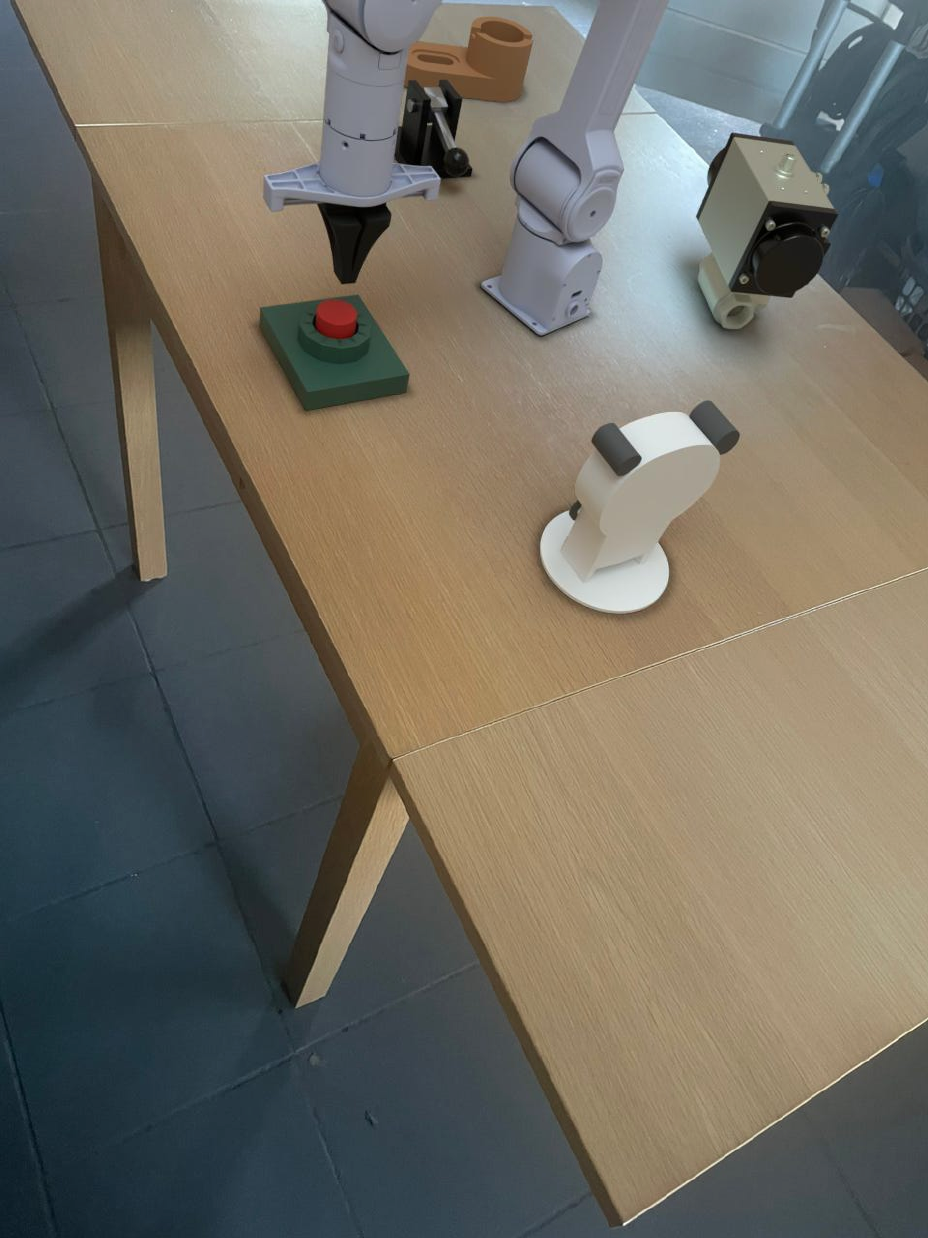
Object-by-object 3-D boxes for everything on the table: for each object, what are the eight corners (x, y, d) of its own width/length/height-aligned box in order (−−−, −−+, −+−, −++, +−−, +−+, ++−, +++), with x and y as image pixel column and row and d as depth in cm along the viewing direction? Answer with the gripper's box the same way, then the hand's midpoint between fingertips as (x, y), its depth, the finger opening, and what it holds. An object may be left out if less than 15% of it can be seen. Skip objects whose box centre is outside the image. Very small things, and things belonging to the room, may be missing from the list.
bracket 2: (471, 176, 111) (484, 110, 105) (411, 180, 108) (421, 112, 102) (437, 132, 116) (448, 67, 110) (378, 134, 113) (386, 67, 106)
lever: (467, 181, 107) (476, 162, 105) (444, 182, 106) (452, 163, 103) (436, 105, 109) (444, 84, 107) (413, 105, 108) (420, 84, 105)
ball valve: (781, 362, 101) (868, 212, 87) (710, 356, 99) (788, 201, 85) (733, 264, 111) (805, 115, 97) (668, 257, 109) (732, 104, 95)
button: (361, 337, 84) (363, 321, 82) (324, 343, 82) (325, 326, 81) (346, 312, 85) (347, 296, 84) (309, 318, 84) (310, 301, 83)
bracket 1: (513, 74, 130) (525, 20, 124) (526, 104, 125) (539, 50, 120) (387, 59, 125) (394, 2, 119) (396, 89, 120) (404, 32, 115)
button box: (406, 392, 86) (412, 358, 83) (305, 410, 82) (308, 375, 79) (356, 312, 91) (360, 277, 88) (259, 326, 87) (260, 290, 84)
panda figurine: (626, 496, 84) (690, 364, 72) (698, 589, 79) (780, 464, 67) (515, 527, 79) (564, 391, 67) (584, 629, 74) (651, 502, 62)
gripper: (425, 92, 75) (402, 243, 86) (251, 95, 69) (249, 256, 80) (462, 139, 72) (432, 289, 82) (282, 146, 66) (276, 307, 77)
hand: (344, 276), depth 81 cm, fingers closed
